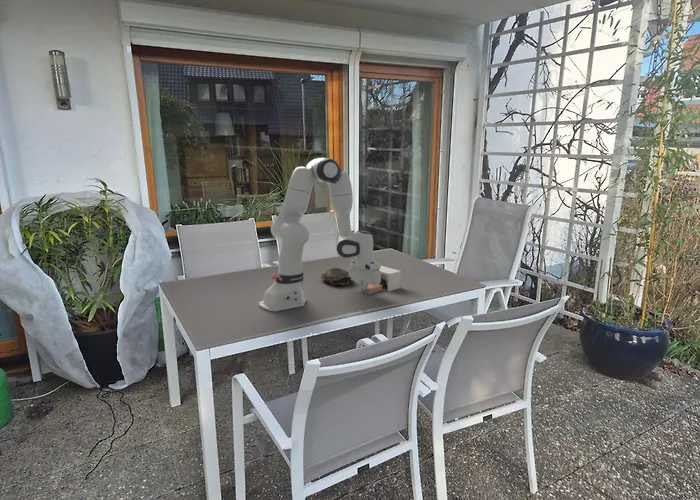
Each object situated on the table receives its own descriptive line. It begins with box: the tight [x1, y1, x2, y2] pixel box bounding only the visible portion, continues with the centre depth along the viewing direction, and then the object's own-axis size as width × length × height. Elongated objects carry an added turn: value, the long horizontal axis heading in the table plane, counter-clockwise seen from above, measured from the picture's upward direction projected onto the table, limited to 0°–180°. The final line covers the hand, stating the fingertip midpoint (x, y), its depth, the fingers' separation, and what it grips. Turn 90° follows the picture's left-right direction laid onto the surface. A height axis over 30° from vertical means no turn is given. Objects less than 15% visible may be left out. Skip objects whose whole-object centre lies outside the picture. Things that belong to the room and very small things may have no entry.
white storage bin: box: [379, 265, 402, 292], centre depth 231 cm, size 8×14×9 cm, turn 42°
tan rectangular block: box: [360, 284, 383, 295], centre depth 225 cm, size 9×6×3 cm
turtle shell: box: [320, 267, 352, 286], centre depth 241 cm, size 16×9×20 cm
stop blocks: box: [380, 279, 386, 286], centre depth 233 cm, size 2×10×2 cm, turn 42°
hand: (364, 289), depth 221 cm, fingers closed, pressing on tan rectangular block
